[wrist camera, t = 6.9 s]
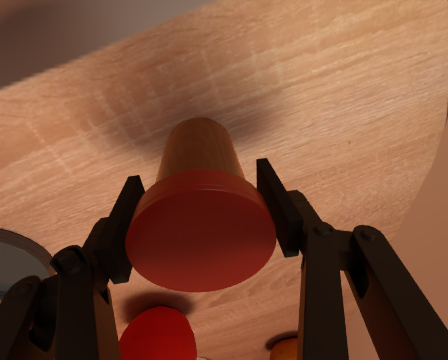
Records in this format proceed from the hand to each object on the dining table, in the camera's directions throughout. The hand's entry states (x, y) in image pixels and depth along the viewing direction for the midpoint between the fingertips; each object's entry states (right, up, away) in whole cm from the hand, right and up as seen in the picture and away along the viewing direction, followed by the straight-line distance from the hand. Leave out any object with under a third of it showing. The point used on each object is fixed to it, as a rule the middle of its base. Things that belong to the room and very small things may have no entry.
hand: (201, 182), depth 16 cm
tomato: (-9, -22, +20) cm, 31 cm away
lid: (+1, -3, -5) cm, 6 cm away
